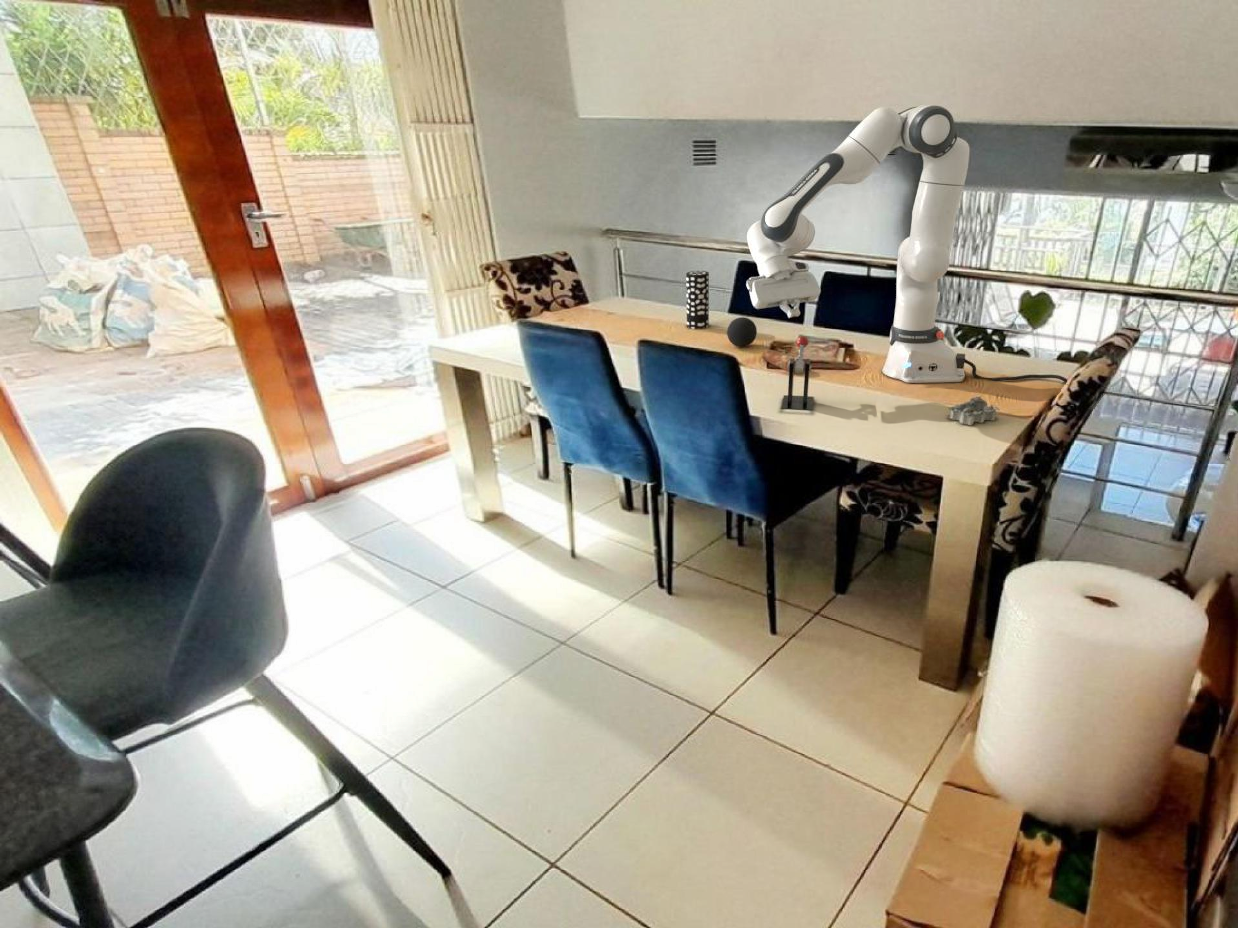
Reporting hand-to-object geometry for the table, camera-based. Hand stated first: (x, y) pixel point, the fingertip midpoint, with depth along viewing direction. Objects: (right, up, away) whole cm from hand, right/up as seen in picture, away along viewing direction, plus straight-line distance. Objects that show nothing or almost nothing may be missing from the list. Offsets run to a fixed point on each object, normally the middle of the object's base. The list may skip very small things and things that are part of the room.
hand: (794, 316), depth 192 cm
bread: (+2, -11, +27) cm, 29 cm away
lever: (+1, -12, -3) cm, 13 cm away
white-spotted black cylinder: (-18, +12, +77) cm, 80 cm away
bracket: (0, -25, -2) cm, 25 cm away
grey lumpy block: (+41, -29, -16) cm, 53 cm away
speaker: (-6, 0, +50) cm, 51 cm away
